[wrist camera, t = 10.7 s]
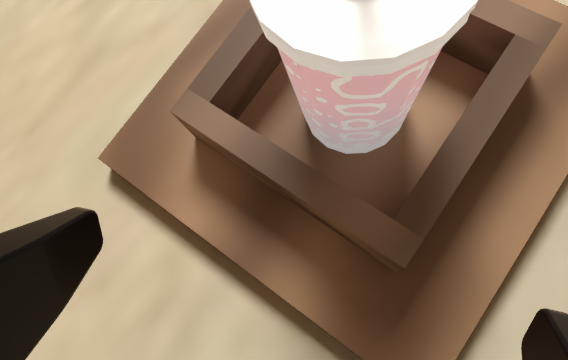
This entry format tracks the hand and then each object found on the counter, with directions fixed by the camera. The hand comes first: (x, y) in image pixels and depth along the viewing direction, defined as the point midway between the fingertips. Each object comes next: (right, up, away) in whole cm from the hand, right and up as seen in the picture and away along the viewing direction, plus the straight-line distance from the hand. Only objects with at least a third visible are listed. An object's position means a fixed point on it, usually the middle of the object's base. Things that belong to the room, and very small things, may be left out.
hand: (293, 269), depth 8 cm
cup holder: (+3, +5, +12) cm, 13 cm away
